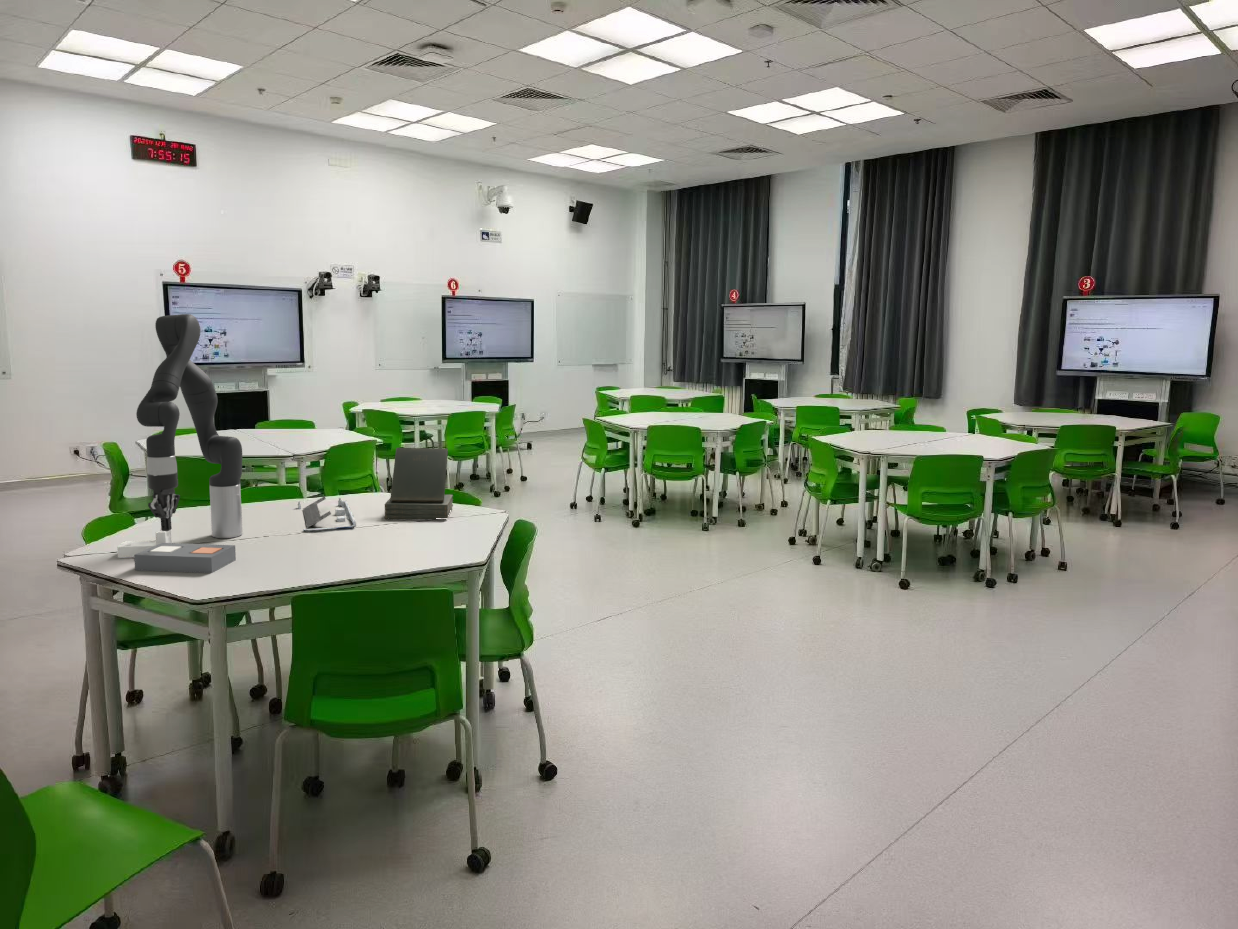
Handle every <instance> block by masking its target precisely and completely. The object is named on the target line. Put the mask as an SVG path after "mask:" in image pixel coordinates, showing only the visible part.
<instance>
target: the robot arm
mask: <svg viewBox="0 0 1238 929" xmlns="http://www.w3.org/2000/svg"><path fill="white" fill-rule="evenodd" d="M154 326H155V327H154V328H155V332H156V335H157V338H158V340H159V343H160V345H161V347H162V349H163V351H164V354H165V355H166V357H165V358H164V360H163V361H162V362H160V364H159V365H158V367H157V368H156V370H155V372H154V375H153V378H152V382H151V386H150V388H149V390H148V391H147V392H146V394H145V396H144V397H143V398H142V400H141V401H140V402H139V404H138V406H137V408H136V413H135V414H136V420H137V422H138V423H139V424H140V425H142V426H143V427H152V428H153V427H154V428H156V427H157V428H158V427H159V428H161V427H163V430H162V432H161V433H158V434H153V435H150V436H148V437H147V438H146V440H145V441H146V442H145V445H146V458H147V460H146V472H147V484H148V485H147V486H148V488H149V489H150V490H152V491H153V493H152V499H153V500H152V502H148V504H147V506H148V508H149V510H150V511H151V513H152V514H153V516H154V517H155V518H156V519H157V518H158V519H159V520H160V531H161V530H162V531H169V530H171V531H172V517H173V514H175V513H176V512H177V508H178V506H179V505H178V504H179V503H180V502H179V501H180V498H181V495H180V494H176V490H175V489H176V488H178V486H179V479H178V478H179V477H178V462H177V458H176V449H175V438H176V433H177V428H178V424H179V421H180V416H181V415H180V409H179V407H178V405H176V403H175V402H173V401H175V400H176V399H177V398H178V394H179V390H181V394H182V397H183V398H184V401H185V403H186V406H187V409H188V411H189V413H190V417H191V420H192V423H193V425H194V429H195V432H196V436H197V439H198V443H199V447H200V452H201V454H202V456H203V458H204V459H205V460H206V462H208V463H210V464H215V465H217V464H218V465H220V471H219V472H218V473H216V474H212V475H211V476H210V477H209V479H208V480H209V500H210V501H209V502H210V503H209V504H210V506H209V507H210V522H211V523H210V526H211V537H213V538H217V539H229V538H236V537H240V536H242V535H243V514H242V513H243V510H242V498H241V497H242V495H241V494H242V493H241V492H242V491H241V490H242V489H241V478H242V474H243V446H242V443H241V441H240V440H239V438H237V437H234V436H228V435H227V436H225V435H219V433H218V431H217V429H216V426H215V421H214V419H215V414H216V410H217V407H218V395H217V391H216V388H215V387H214V384H213V381H212V379H211V377H210V376H209V375H208V374H207V373H206V372H204V371H203V369H201V368H200V367H199V366H198V365H197V364H195V363H194V362H193V361H192V360H191V357H192V356H193V354H194V351H195V349H196V348H197V345H198V343H199V341H200V336H201V326H200V323H199V320H198V319H197V317H196V316H194V314H190V313H182V314H169V315H168V314H167V315H162V316H159V317H157V318H156V320H155V325H154Z"/></svg>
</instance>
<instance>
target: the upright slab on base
mask: <svg viewBox="0 0 1238 929" xmlns="http://www.w3.org/2000/svg"><path fill="white" fill-rule="evenodd" d="M448 454H449V451H448V448H440V447H439V448H436V447H435V448H434V447H433V448H432V447H431V448H430V447H429V448H428V447H427V448H426V447H396V448H395V455H394V456H395V457H394V465H393V474H392V482H391V488H390V490H391V491H390V496H389V499H387V501H386V502H385V503H384V520H390V521H391V520H393V519H436V518H449V517H448V515H449V513H450V510H451V509H452V510H453V506H454V505H453V501H454V498H453V497H454V495H453V494H445V492H446V483H447V482H446V481H447V468H448V456H449V455H448ZM450 514H451V513H450ZM449 516H450V515H449Z"/></svg>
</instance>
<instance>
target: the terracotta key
mask: <svg viewBox="0 0 1238 929" xmlns="http://www.w3.org/2000/svg"><path fill="white" fill-rule="evenodd" d="M220 550H222V548H206V547H201V548H199V549H197V550H195V551H193V552H191V553H194V554H214V553H216V552H218V551H220Z"/></svg>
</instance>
